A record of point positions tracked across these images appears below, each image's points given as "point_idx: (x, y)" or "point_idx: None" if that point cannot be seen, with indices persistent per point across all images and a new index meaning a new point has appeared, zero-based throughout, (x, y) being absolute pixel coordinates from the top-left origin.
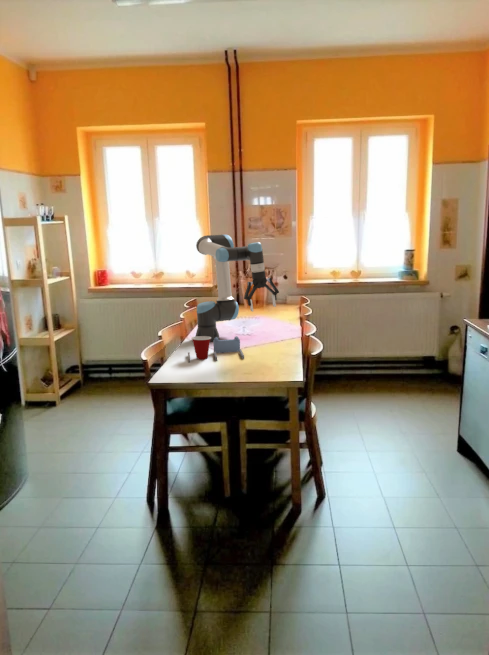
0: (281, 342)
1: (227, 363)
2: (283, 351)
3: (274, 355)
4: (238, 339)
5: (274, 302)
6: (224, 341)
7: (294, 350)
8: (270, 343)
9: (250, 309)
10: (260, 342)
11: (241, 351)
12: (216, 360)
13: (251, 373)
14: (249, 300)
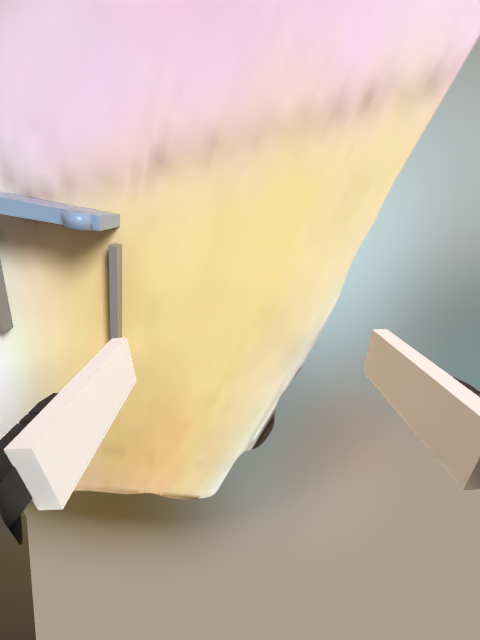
0: (344, 143)
1: (56, 364)
2: (282, 291)
3: (234, 327)
4: (91, 229)
5: (390, 401)
6: (4, 213)
7: (320, 293)
8: (293, 136)
9: (104, 347)
10: (257, 83)
11: (114, 286)
12: (8, 327)
13: (123, 451)
14: (19, 490)
